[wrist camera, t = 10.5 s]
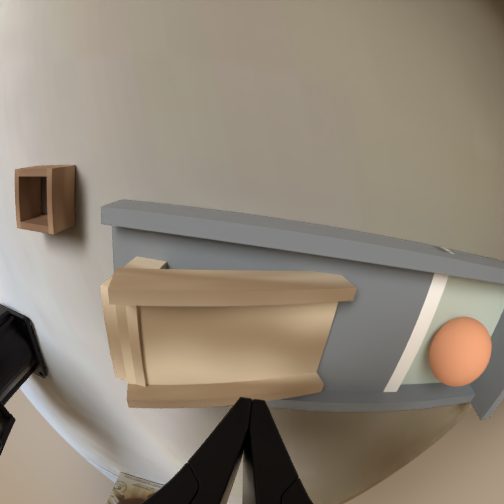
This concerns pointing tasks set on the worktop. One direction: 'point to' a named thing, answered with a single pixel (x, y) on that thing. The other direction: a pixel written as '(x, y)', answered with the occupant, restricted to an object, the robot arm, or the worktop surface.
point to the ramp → (218, 332)
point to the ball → (460, 351)
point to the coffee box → (132, 490)
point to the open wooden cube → (57, 198)
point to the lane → (348, 312)
